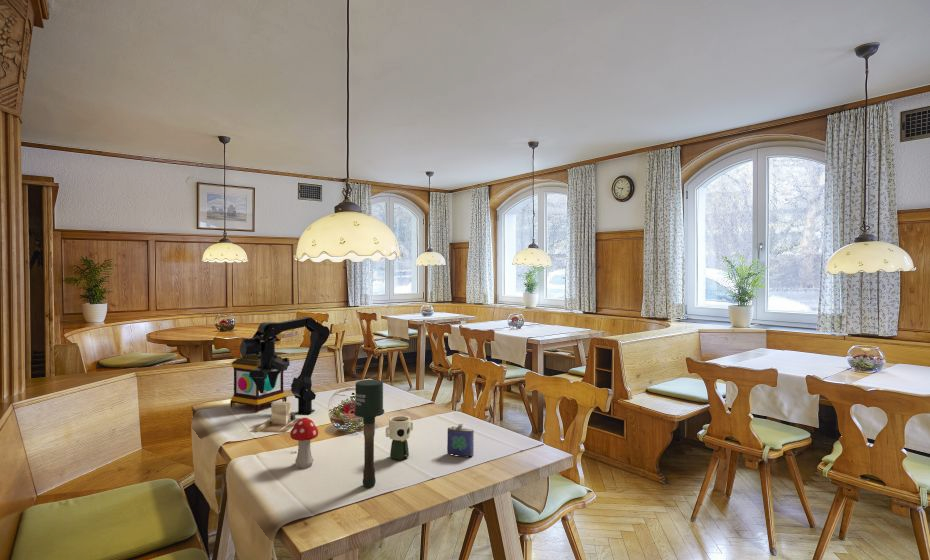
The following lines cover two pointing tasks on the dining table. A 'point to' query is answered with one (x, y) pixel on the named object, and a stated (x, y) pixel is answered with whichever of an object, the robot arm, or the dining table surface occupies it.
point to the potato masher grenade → (369, 421)
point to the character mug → (399, 435)
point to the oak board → (276, 426)
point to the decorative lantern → (247, 388)
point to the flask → (460, 441)
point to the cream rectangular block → (280, 413)
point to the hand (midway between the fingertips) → (267, 390)
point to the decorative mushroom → (304, 441)
